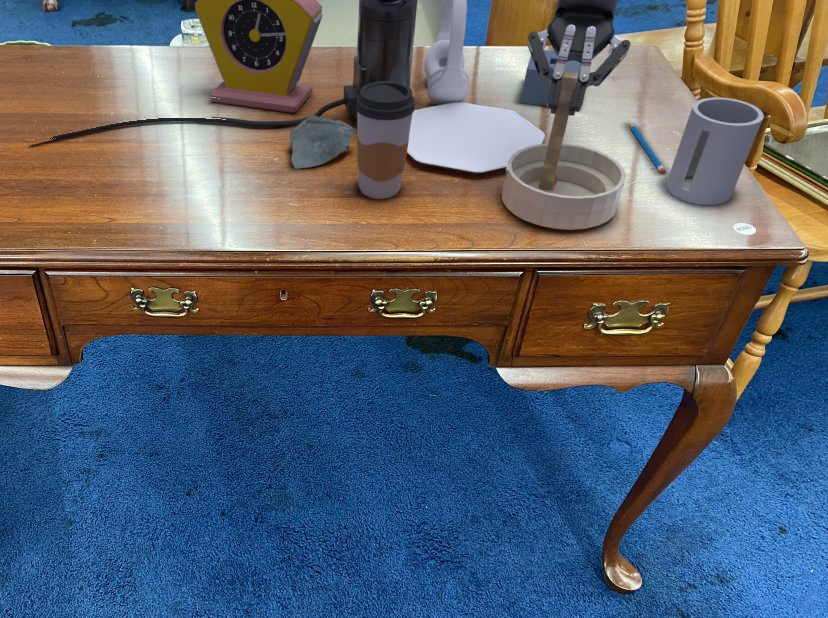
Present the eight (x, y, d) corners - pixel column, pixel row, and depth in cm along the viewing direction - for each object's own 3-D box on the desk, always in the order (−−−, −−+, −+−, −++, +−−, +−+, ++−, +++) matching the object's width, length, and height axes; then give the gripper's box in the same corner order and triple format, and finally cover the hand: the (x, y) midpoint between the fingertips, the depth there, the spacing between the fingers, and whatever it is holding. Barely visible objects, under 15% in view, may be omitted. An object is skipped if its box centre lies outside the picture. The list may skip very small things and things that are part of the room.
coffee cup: (406, 176, 125) (415, 79, 115) (407, 203, 119) (417, 104, 109) (353, 175, 126) (357, 79, 115) (351, 202, 120) (355, 103, 109)
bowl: (521, 237, 112) (528, 202, 108) (487, 181, 124) (493, 147, 120) (633, 228, 113) (645, 193, 109) (590, 173, 124) (599, 139, 121)
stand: (520, 102, 143) (526, 68, 139) (526, 81, 150) (533, 48, 146) (576, 109, 141) (584, 74, 137) (580, 87, 147) (588, 54, 143)
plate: (552, 124, 137) (554, 116, 136) (523, 189, 121) (524, 180, 120) (418, 103, 144) (419, 95, 143) (374, 162, 129) (375, 153, 128)
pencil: (660, 174, 124) (661, 170, 123) (627, 125, 136) (628, 121, 136) (665, 174, 124) (666, 170, 123) (631, 125, 136) (633, 121, 136)
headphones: (426, 117, 140) (439, -7, 126) (421, 75, 153) (432, -42, 139) (467, 117, 140) (486, -7, 126) (459, 75, 153) (474, -42, 139)
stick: (538, 188, 116) (563, 76, 104) (539, 182, 117) (564, 71, 106) (551, 190, 115) (577, 78, 104) (552, 184, 116) (578, 72, 105)
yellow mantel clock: (196, 100, 147) (184, -29, 132) (217, 81, 153) (207, -44, 138) (309, 116, 141) (310, -17, 126) (326, 95, 148) (328, -34, 132)
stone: (357, 172, 129) (355, 128, 133) (356, 154, 125) (354, 109, 130) (291, 178, 130) (291, 134, 134) (288, 160, 126) (288, 115, 131)
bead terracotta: (546, 178, 118) (549, 192, 119) (559, 170, 118) (562, 184, 120) (536, 174, 120) (539, 189, 121) (549, 166, 120) (552, 181, 122)
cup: (732, 181, 122) (764, 103, 113) (729, 209, 116) (762, 130, 107) (669, 170, 125) (695, 93, 116) (662, 197, 119) (689, 119, 110)
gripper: (539, -37, 104) (510, 95, 104) (652, -30, 101) (622, 107, 101) (535, -6, 111) (508, 117, 112) (640, 2, 108) (612, 129, 108)
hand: (562, 112), depth 106 cm, fingers closed on stick, 2 cm apart
